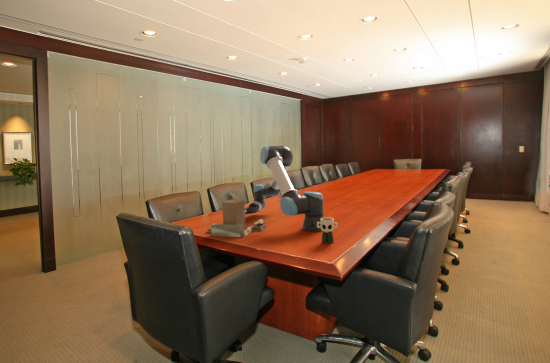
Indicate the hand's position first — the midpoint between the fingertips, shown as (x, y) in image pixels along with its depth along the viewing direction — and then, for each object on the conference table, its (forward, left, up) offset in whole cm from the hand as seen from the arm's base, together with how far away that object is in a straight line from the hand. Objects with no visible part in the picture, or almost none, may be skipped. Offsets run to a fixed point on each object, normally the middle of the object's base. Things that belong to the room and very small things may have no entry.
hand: (242, 214), depth 205 cm
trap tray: (-5, +4, -8) cm, 10 cm away
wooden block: (-12, +9, -9) cm, 17 cm away
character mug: (-58, -30, -8) cm, 66 cm away
